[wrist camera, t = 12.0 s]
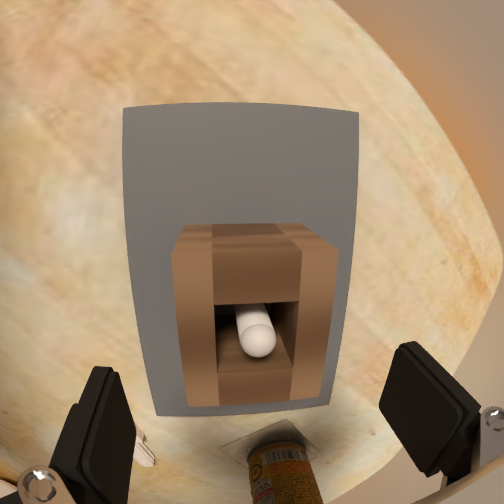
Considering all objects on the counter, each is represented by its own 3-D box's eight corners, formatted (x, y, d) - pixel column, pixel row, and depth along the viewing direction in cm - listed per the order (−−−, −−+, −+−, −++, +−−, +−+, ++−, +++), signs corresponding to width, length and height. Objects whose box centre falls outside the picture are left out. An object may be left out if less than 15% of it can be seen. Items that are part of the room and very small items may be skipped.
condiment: (262, 479, 28) (281, 567, 16) (218, 446, 25) (229, 555, 14) (321, 453, 27) (356, 542, 16) (286, 416, 25) (322, 528, 13)
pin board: (129, 112, 17) (76, 80, 9) (348, 115, 18) (425, 95, 10) (158, 403, 23) (147, 483, 15) (323, 393, 24) (357, 464, 16)
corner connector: (103, 461, 25) (101, 472, 24) (60, 413, 23) (55, 424, 21) (165, 454, 25) (164, 466, 24) (124, 403, 23) (121, 415, 21)
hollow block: (184, 224, 18) (170, 254, 12) (300, 223, 18) (338, 250, 13) (192, 344, 20) (188, 406, 14) (292, 339, 21) (318, 396, 15)
